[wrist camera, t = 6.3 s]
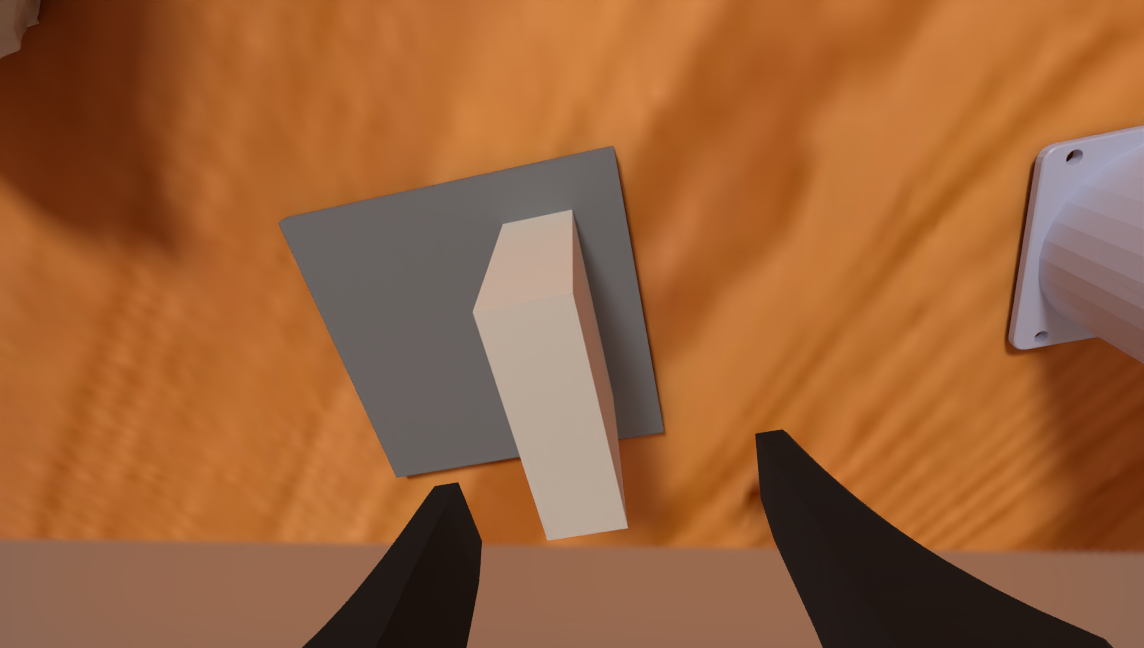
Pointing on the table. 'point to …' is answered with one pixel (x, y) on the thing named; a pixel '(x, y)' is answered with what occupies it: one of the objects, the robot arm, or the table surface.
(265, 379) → the table surface
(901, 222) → the table surface
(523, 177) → the mat
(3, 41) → the grey animal figurine
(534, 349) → the block
